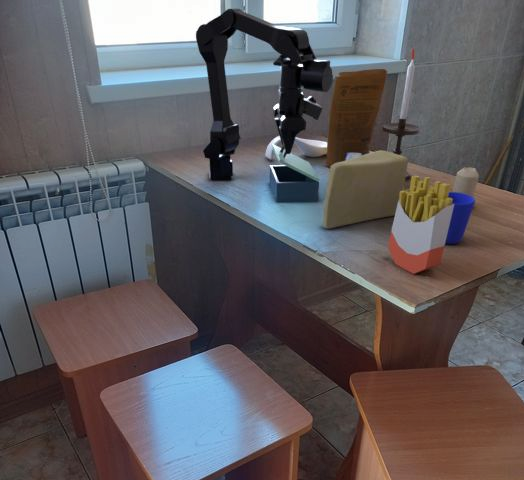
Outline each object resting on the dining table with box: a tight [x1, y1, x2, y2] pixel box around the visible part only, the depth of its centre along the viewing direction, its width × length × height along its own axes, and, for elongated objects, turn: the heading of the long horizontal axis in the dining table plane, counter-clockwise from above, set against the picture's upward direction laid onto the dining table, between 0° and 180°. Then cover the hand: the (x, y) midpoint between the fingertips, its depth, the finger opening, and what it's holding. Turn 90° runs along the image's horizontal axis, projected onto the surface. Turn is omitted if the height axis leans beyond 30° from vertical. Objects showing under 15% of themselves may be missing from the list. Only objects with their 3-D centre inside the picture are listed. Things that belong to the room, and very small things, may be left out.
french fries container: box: [388, 175, 454, 275], centre depth 103 cm, size 5×11×18 cm, turn 31°
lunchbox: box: [268, 164, 320, 203], centre depth 145 cm, size 11×16×5 cm
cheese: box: [322, 150, 409, 230], centre depth 125 cm, size 22×10×15 cm, turn 127°
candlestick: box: [382, 46, 421, 181], centre depth 150 cm, size 11×11×35 cm
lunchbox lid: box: [272, 144, 321, 183], centre depth 140 cm, size 12×16×5 cm
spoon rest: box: [264, 135, 327, 161], centre depth 175 cm, size 24×12×7 cm, turn 114°
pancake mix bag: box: [325, 68, 388, 167], centre depth 161 cm, size 7×19×28 cm, turn 109°
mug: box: [445, 191, 476, 245], centre depth 117 cm, size 8×12×10 cm
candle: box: [452, 166, 480, 198], centre depth 136 cm, size 6×6×10 cm
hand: (286, 150), depth 139 cm, fingers closed on lunchbox lid, 6 cm apart
